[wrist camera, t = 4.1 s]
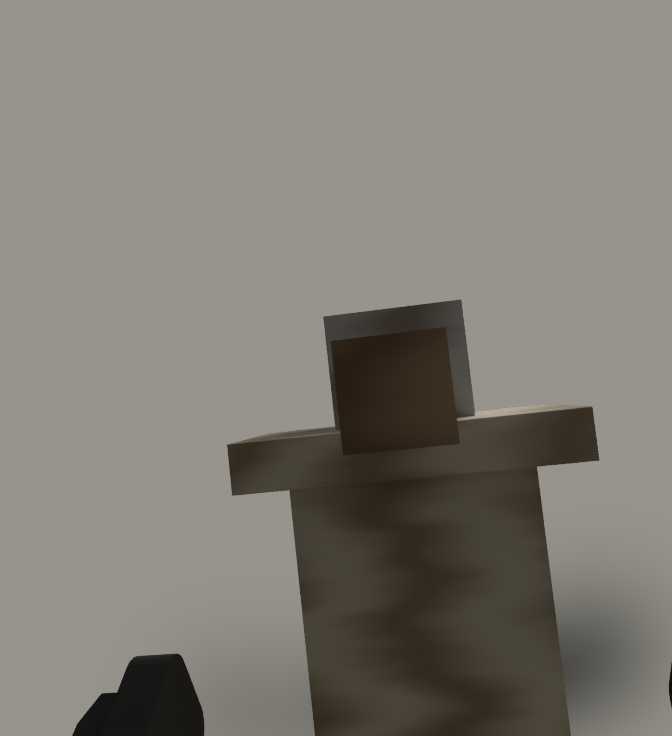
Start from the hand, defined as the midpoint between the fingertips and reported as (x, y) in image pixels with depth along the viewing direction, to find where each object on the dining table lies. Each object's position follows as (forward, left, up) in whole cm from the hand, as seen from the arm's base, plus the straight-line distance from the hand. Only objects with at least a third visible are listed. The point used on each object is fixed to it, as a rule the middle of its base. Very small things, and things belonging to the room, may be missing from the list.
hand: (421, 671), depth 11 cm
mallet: (0, +12, +3) cm, 12 cm away
